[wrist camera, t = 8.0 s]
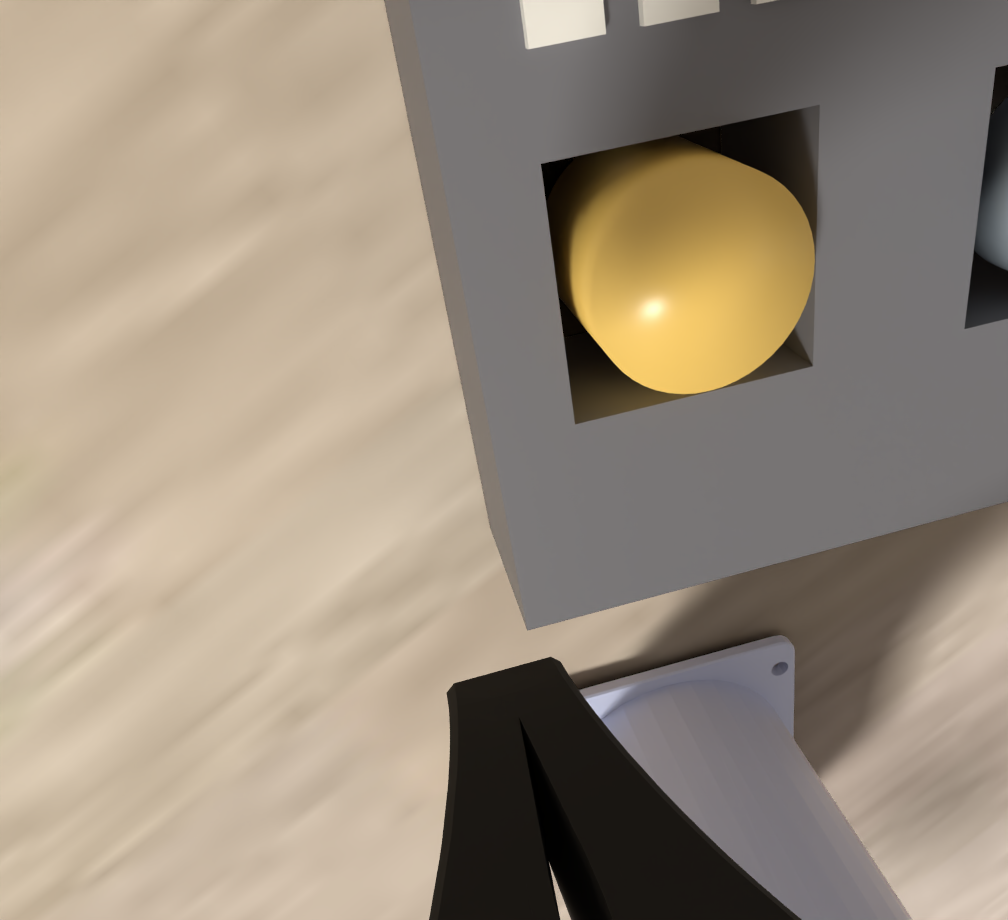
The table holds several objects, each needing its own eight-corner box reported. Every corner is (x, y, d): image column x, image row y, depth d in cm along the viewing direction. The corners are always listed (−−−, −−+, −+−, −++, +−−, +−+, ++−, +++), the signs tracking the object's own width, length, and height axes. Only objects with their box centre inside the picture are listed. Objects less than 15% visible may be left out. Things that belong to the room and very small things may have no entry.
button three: (728, 302, 19) (812, 365, 16) (552, 343, 19) (604, 416, 16) (723, 110, 17) (817, 141, 14) (526, 151, 17) (579, 192, 14)
